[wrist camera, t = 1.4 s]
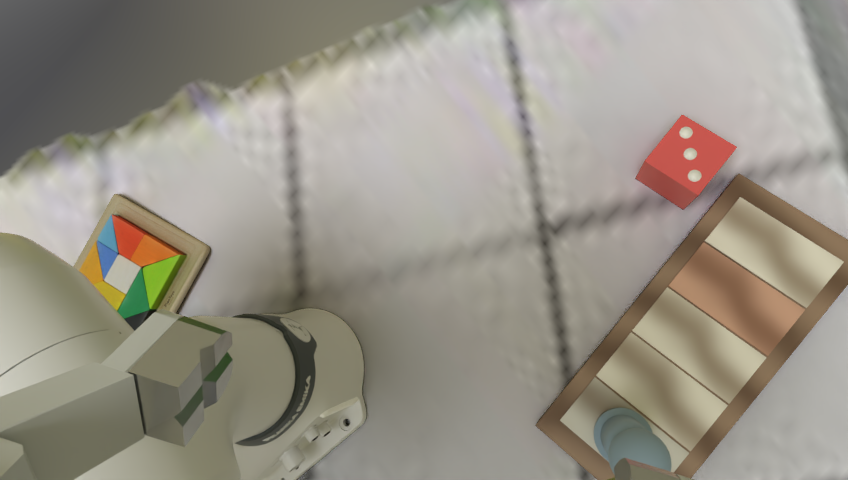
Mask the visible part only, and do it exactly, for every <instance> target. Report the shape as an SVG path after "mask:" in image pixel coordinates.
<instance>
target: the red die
mask: <svg viewBox="0 0 848 480" xmlns="http://www.w3.org/2000/svg"><path fill="white" fill-rule="evenodd" d="M736 148H737V147H736V146H734V145H733V144H731V143H729V142H727V141H726V140H724V139H722V138H721V137H719V136H717V135H716V134H714V133H712V132H711V131H709V130H707V129H706V128H704V127H702V126H701V125H699V124H697V123H696V122H694V121H692V120H691V119H689V118H687V117H685V116H684V115H681V117H680V118H679V119H678V120H677V122H676V123H675V124H674V125H673V127H672V128H671V129H670V130H669V131H668V133H667V134H666V135H665V136H664V138H663V139H662V140H661V141H660V143H659V144H658V145H657V146H656V148H655V149H654V150H653V151H652V153H651V154H650V155H649V156H648V158H647V159H646V160H645V161H644V163H643V165H642V167H641V169H640V171H639V173H638V174H637V176H636V178H635V179H637V180H638V181H640V182H642V183H643V184H645V185H646V186H648V187H649V188H651V189H652V190H654V191H655V192H657V193H658V194H660V195H661V196H663V197H664V198H666V199H668V200H669V201H671V202H672V203H674V204H675V205H677V206H678V207H680V208H681V209H685V208H686V207H687V206H688V205H689V204H690V203H691V202H692V201H693V200H694V199H695V198H696V197H697V196H698V195H699V194H700V193H701V191H702V190H703V189H704V188H705V186H706V185H707V184H708V183H709V181H710V180H711V179H712V178H713V176H714V175H715V174H716V173H717V171H718V170H719V169H720V168H721V167H722V165H723V164H724V163H725V162H726V160H727V159H728V158H729V157H730V155H731V154H732V153H733V152H734V150H735V149H736Z"/></svg>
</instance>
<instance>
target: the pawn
mask: <svg viewBox="0 0 848 480" xmlns="http://www.w3.org/2000/svg"><path fill="white" fill-rule="evenodd" d="M594 441H595V444H596V447H597V449H598V451H599V452H600V454H601V455H602V456H603V457H604V458H605V459H606V460H607V461H609V464H610V467H611V470H612V472H613V473H614V467H615V465H616V464H617V463H618V461H619V460H621V459H623V458H628V459H631V460H634V461H637V462H641V463H644V464H647V465H651V466H654V467H657V468H660V469H664V470H667V471H670V472H671V457H670V453H669V451H668V449H667V447H666V445H665V444H664V443H663V441H662V440H661V439H660V438H659V437H658V436H656V435H655V434H653V432H652V429H651V427H650V425H649V424H648V422H647V421H646V420H645V419H644V418H643V417H642V416H641V415H640V414H638V413H637V412H635V411H633V410H631V409H628V408H622V407H618V408H612V409H609V410H607V411H605V412H604V413H603V414H601V416H600V417H599V418H598V419H597V421H596V423H595V426H594ZM614 475H615V473H614Z"/></svg>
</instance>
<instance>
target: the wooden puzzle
mask: <svg viewBox="0 0 848 480" xmlns="http://www.w3.org/2000/svg"><path fill="white" fill-rule="evenodd" d="M209 252H210V248H209V246H208V245H206V244H204V243H203V242H201V241H199V240H198V239H196V238H194V237H193V236H191V235H189V234H187V233H186V232H184V231H182V230H180V229H178V228H177V227H175V226H173V225H171V224H170V223H168V222H166V221H164V220H163V219H161V218H159V217H157V216H155V215H154V214H152V213H150V212H148V211H147V210H145V209H143V208H141V207H140V206H138V205H136V204H134V203H133V202H131V201H129V200H127V199H126V198H124V197H122V196H120V195H118V194H114V195H113V197H112V199H111V201H110V202H109V204H108V206H107V208H106V210H105V211H104V213H103V215H102V217H101V219H100V220H99V222H98V224H97V226H96V228H95V229H94V231H93V233H92V235H91V237H90V238H89V240H88V242H87V244H86V245H85V247H84V249H83V251H82V253H81V254H80V256H79V258H78V260H77V261H76V263H75V265H74V268H75V269H77V270H78V271H80V272H81V273H82V274H84V275H85V276H86V277H87V278H88V279H89V281H90V282H91V283H92V284H93V285H94V286H95V287H96V288H97V289H98V291H99V292H100V293H101V294H102V295H103V296H104V297H105V298H106V300H107V301H108V302H109V303H110V304H111V305H112V306H113V307H114V308H115V310H116V311H117V312H118V313H119V314H120V315H121V316H122V317H123V318H124V320H125V321H126V322H127V323H128V324H129V325H130V326H131V327H132V329H133V330H134V331H135V330H136V329H137V328H138V327H139V326H141V325H142V324H143V323H144V322H145V321H146V320H147V319H148V318H149V317H150V316H151V315H152V314H153V313H154V312H157V311H159V310H161V309H164V310H167V311H170V312H173V313H176V312H177V310H178V308H179V307H180V305H181V303H182V301H183V299H184V297H185V296H186V294H187V292H188V290H189V288H190V287H191V285H192V283H193V281H194V279H195V278H196V276H197V274H198V272H199V270H200V269H201V267H202V265H203V263H204V261H205V259H206V258H207V256H208V254H209Z"/></svg>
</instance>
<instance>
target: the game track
mask: <svg viewBox="0 0 848 480" xmlns="http://www.w3.org/2000/svg"><path fill="white" fill-rule="evenodd" d="M847 285H848V240H847V239H845V238H844V237H842V236H840V235H839V234H837V233H835V232H834V231H832V230H831V229H829V228H827V227H826V226H824V225H822V224H821V223H819V222H817V221H816V220H814V219H813V218H811V217H809V216H808V215H806V214H804V213H803V212H801V211H799V210H798V209H796V208H795V207H793V206H791V205H790V204H788V203H786V202H785V201H783V200H781V199H780V198H778V197H777V196H775V195H773V194H772V193H770V192H768V191H767V190H765V189H763V188H762V187H760V186H758V185H757V184H755V183H754V182H752V181H750V180H749V179H747V178H745V177H744V176H742V175H740V174H738V175H737V176H736V177H735V178H734V179H733V180H732V181H731V183H730V184H729V185H728V186H727V188H726V189H725V190H724V191H723V193H722V194H721V195H720V196H719V197H718V199H717V200H716V201H715V202H714V204H713V205H712V206H711V207H710V209H709V210H708V211H707V212H706V214H705V215H704V216H703V217H702V219H701V220H700V221H699V222H698V224H697V225H696V226H695V227H694V228H693V230H692V231H691V232H690V233H689V235H688V236H687V237H686V238H685V240H684V241H683V242H682V243H681V245H680V246H679V247H678V248H677V250H676V251H675V252H674V253H673V255H672V256H671V257H670V258H669V259H668V261H667V262H666V263H665V264H664V266H663V267H662V268H661V269H660V271H659V272H658V273H657V274H656V276H655V277H654V278H653V279H652V281H651V282H650V283H649V284H648V286H647V287H646V288H645V289H644V290H643V292H642V293H641V294H640V295H639V297H638V298H637V299H636V300H635V302H634V303H633V304H632V305H631V307H630V308H629V309H628V310H627V312H626V313H625V314H624V315H623V317H622V318H621V319H620V320H619V321H618V323H617V324H616V325H615V326H614V328H613V329H612V330H611V331H610V333H609V334H608V335H607V336H606V338H605V339H604V340H603V341H602V343H601V344H600V345H599V346H598V348H597V349H596V350H595V351H594V352H593V354H592V355H591V356H590V357H589V359H588V360H587V361H586V362H585V364H584V365H583V366H582V367H581V369H580V370H579V371H578V372H577V374H576V375H575V376H574V377H573V379H572V380H571V381H570V382H569V383H568V385H567V386H566V387H565V388H564V390H563V391H562V392H561V393H560V395H559V396H558V397H557V398H556V400H555V401H554V402H553V403H552V405H551V406H550V407H549V408H548V409H547V411H546V412H545V413H544V414H543V416H542V417H541V418H540V419H539V421H538V422H537V423H536V426H537V427H538V428H539V429H540V430H541V431H542V432H544V433H545V434H546V435H547V436H548V437H549V438H550V439H552V440H553V441H554V442H555V443H556V444H557V445H558V446H560V447H561V448H562V449H563V450H564V451H565V452H566V453H568V454H569V455H570V456H571V457H572V458H573V459H574V460H576V461H577V462H578V463H579V464H580V465H581V466H583V467H584V468H585V469H586V470H587V471H588V472H589V473H591V474H592V475H593V476H594V477H595V478H596V479H597V480H607V479H610V478H613V477H615V475H614V473H613V472H612V470H611V467H610V464H609V461H607V460H606V459H605V458H604V457H603V456H602V455H601V454H600V452H599V451H598V449H597V447H596V444H595V441H594V426H595V423H596V421H597V419H598V418H599V417H600V416H601V414H603V413H604V412H605V411H607V410H609V409H612V408H618V407H622V408H628V409H631V410H633V411H635V412H637V413H638V414H640V415H641V416H642V417H643V418H644V419H645V420H646V421H647V422H648V424H649V425H650V427H651V429H652V432H653V434H655V435H656V436H658V437H659V438H660V439H661V440H662V441H663V443H664V444H665V445H666V447H667V449H668V451H669V453H670V457H671V472H673V473H675V474H678V475H681V476H684V477H687V478H690V479H691V477H692V476H693V475H694V474H695V473H696V471H697V470H698V469H699V468H700V466H701V465H702V464H703V463H704V461H705V460H706V459H707V458H708V456H709V455H710V454H711V453H712V452H713V450H714V449H715V448H716V447H717V445H718V444H719V443H720V442H721V440H722V439H723V438H724V437H725V435H726V434H727V433H728V432H729V431H730V429H731V428H732V427H733V426H734V424H735V423H736V422H737V421H738V419H739V418H740V417H741V416H742V414H743V413H744V412H745V411H746V410H747V408H748V407H749V406H750V405H751V403H752V402H753V401H754V400H755V398H756V397H757V396H758V395H759V394H760V392H761V391H762V390H763V389H764V387H765V386H766V385H767V384H768V382H769V381H770V380H771V379H772V377H773V376H774V375H775V374H776V373H777V371H778V370H779V369H780V368H781V366H782V365H783V364H784V363H785V361H786V360H787V359H788V358H789V356H790V355H791V354H792V353H793V352H794V350H795V349H796V348H797V347H798V345H799V344H800V343H801V342H802V340H803V339H804V338H805V337H806V335H807V334H808V333H809V332H810V331H811V329H812V328H813V327H814V326H815V324H816V323H817V322H818V321H819V319H820V318H821V317H822V316H823V315H824V313H825V312H826V311H827V310H828V308H829V307H830V306H831V305H832V303H833V302H834V301H835V300H836V298H837V297H838V296H839V295H840V294H841V292H842V291H843V290H844V289H845V287H846V286H847Z"/></svg>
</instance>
